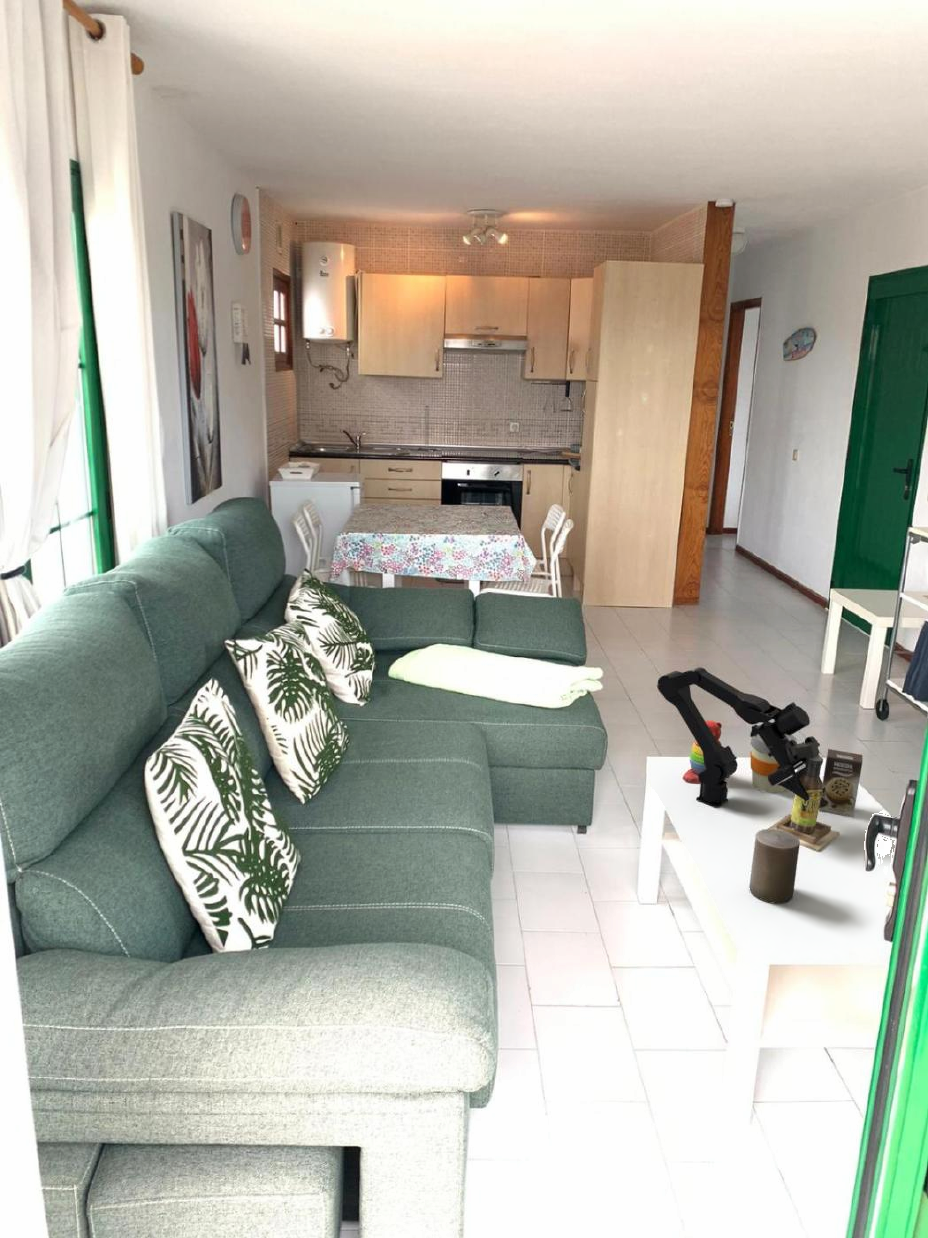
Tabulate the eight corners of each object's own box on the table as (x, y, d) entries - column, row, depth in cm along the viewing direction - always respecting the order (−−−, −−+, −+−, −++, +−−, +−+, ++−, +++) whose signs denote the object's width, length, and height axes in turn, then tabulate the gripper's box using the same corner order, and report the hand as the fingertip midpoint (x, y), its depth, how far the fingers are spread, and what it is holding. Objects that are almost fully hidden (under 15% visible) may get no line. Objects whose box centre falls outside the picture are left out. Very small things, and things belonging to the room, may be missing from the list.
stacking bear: (681, 781, 277) (686, 723, 272) (690, 768, 286) (696, 712, 281) (718, 790, 272) (725, 731, 268) (726, 777, 281) (733, 720, 276)
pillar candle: (795, 906, 215) (804, 845, 211) (750, 900, 216) (758, 840, 213) (789, 884, 224) (797, 825, 220) (746, 879, 226) (753, 820, 222)
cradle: (765, 831, 249) (766, 824, 248) (789, 816, 258) (790, 809, 257) (817, 851, 239) (818, 844, 239) (840, 834, 248) (841, 827, 248)
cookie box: (818, 811, 261) (826, 756, 257) (819, 801, 267) (826, 747, 263) (854, 818, 258) (862, 762, 254) (854, 808, 264) (862, 753, 260)
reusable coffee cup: (797, 796, 270) (804, 746, 266) (752, 794, 270) (758, 745, 266) (783, 777, 282) (790, 729, 278) (740, 776, 282) (746, 728, 278)
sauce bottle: (798, 835, 245) (808, 763, 239) (785, 823, 251) (795, 753, 245) (820, 833, 246) (831, 761, 241) (807, 821, 252) (817, 751, 247)
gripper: (786, 738, 237) (823, 794, 233) (817, 719, 251) (852, 772, 246) (752, 758, 244) (787, 812, 240) (784, 739, 258) (818, 790, 254)
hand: (813, 796), depth 245 cm, fingers closed on sauce bottle, 6 cm apart
